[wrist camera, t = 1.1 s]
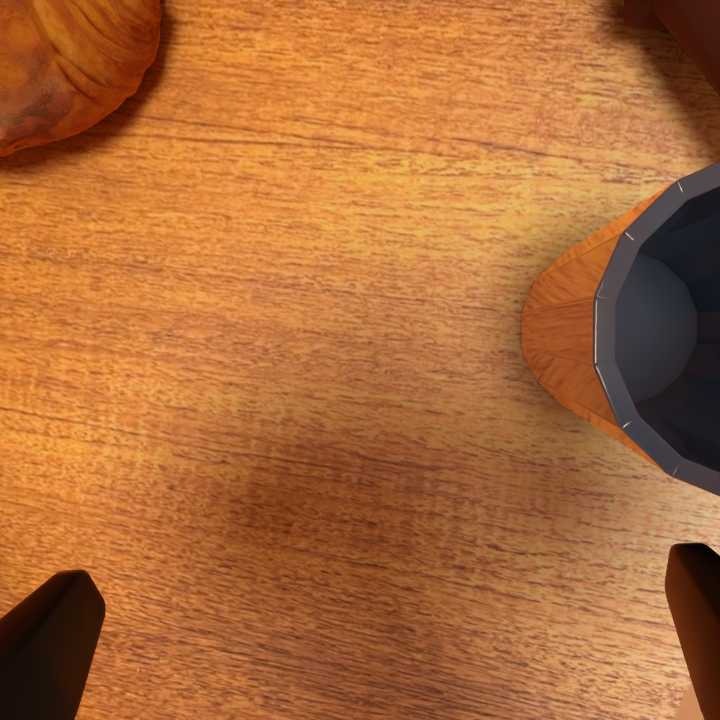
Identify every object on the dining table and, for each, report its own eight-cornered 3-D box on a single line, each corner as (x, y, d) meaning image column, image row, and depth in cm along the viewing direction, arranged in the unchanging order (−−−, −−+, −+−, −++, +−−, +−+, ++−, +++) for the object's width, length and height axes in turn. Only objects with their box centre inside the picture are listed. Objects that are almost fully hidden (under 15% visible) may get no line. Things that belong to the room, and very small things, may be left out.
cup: (657, 441, 23) (880, 562, 11) (493, 375, 24) (538, 422, 12) (733, 278, 22) (1057, 222, 10) (561, 215, 23) (681, 97, 11)
